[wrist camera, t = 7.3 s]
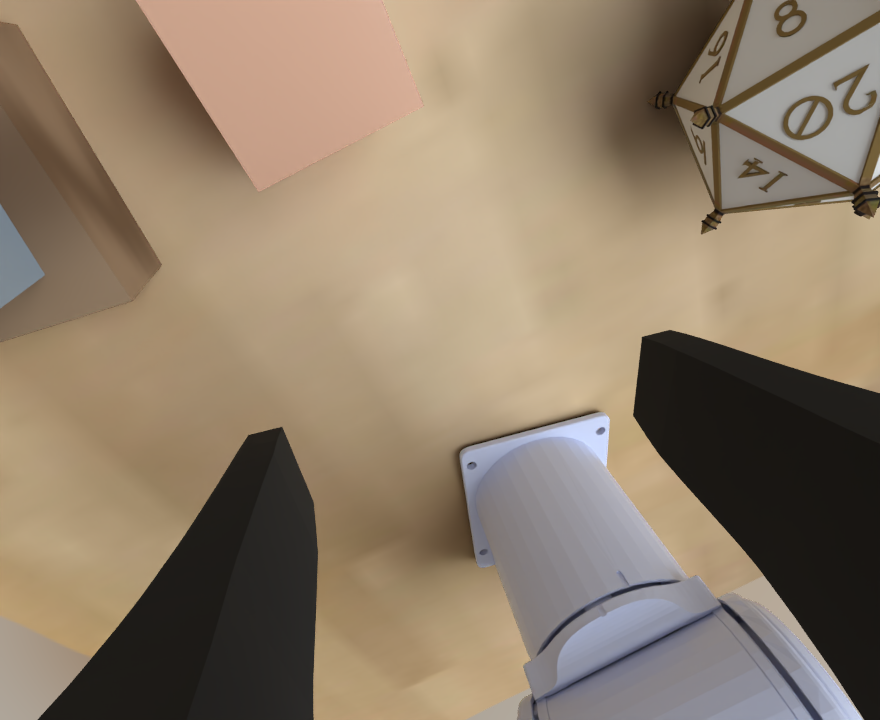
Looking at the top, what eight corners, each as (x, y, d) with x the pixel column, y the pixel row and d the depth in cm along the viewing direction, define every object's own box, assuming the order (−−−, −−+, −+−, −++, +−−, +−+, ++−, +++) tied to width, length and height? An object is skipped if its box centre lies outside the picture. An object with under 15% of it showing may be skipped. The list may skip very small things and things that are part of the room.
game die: (651, 136, 22) (691, 326, 18) (615, -65, 15) (665, 163, 11) (909, 42, 18) (1042, 261, 13) (1014, -290, 11) (1342, -64, 7)
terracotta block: (394, 98, 16) (424, 106, 11) (273, 161, 16) (258, 192, 11) (322, -72, 13) (326, -143, 9) (179, 4, 13) (117, -29, 9)
